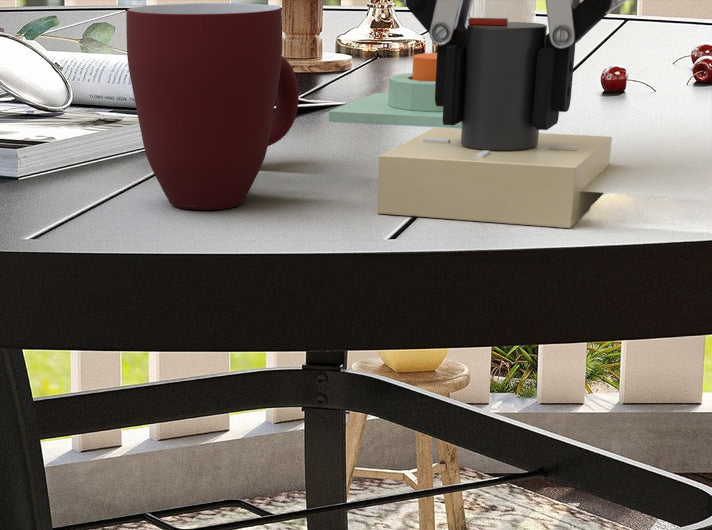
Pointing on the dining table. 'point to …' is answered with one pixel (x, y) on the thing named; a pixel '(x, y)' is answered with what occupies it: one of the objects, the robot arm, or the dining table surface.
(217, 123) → the mug
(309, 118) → the dining table surface
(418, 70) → the button
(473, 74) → the dial
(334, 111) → the kettle base
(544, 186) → the block
